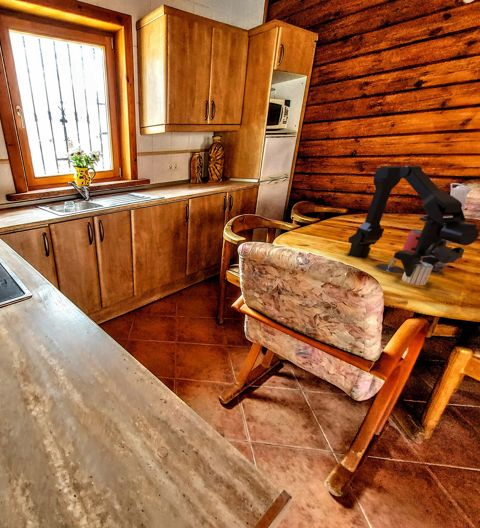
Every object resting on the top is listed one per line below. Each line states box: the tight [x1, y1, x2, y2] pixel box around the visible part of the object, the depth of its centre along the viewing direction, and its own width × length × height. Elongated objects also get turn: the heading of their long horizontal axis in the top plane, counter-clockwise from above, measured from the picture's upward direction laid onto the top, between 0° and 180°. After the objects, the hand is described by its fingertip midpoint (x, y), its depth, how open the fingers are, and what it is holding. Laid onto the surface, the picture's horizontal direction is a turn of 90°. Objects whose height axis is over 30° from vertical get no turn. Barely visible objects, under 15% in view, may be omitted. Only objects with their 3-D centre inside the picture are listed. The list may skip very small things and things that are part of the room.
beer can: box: [401, 228, 423, 253], centre depth 122 cm, size 7×7×12 cm
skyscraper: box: [443, 182, 473, 244], centre depth 135 cm, size 8×8×28 cm
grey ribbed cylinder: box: [401, 260, 433, 286], centre depth 102 cm, size 6×6×7 cm
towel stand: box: [376, 258, 405, 274], centre depth 113 cm, size 9×9×4 cm
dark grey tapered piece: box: [430, 262, 448, 274], centre depth 108 cm, size 6×6×12 cm
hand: (415, 275), depth 103 cm, fingers closed on grey ribbed cylinder, 6 cm apart
